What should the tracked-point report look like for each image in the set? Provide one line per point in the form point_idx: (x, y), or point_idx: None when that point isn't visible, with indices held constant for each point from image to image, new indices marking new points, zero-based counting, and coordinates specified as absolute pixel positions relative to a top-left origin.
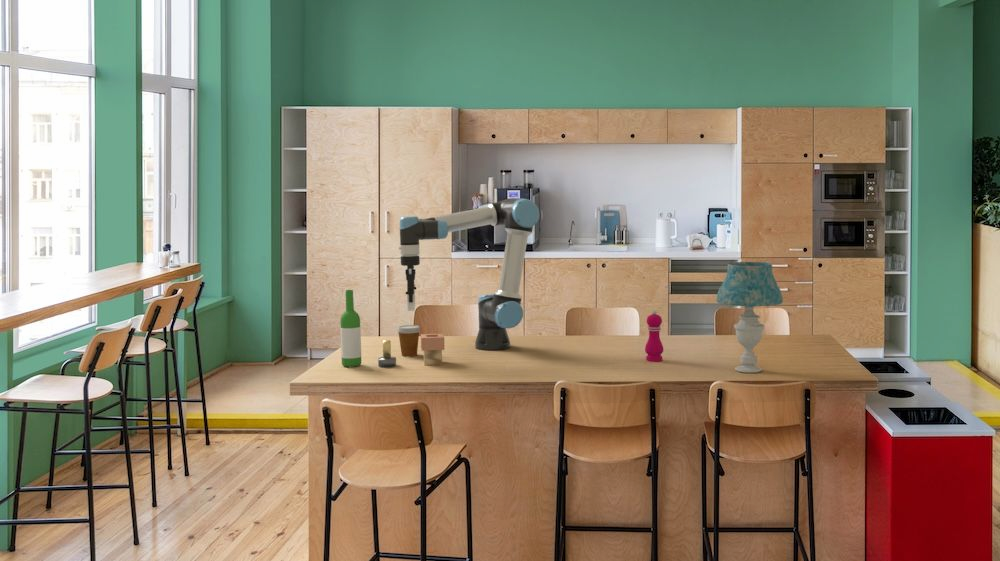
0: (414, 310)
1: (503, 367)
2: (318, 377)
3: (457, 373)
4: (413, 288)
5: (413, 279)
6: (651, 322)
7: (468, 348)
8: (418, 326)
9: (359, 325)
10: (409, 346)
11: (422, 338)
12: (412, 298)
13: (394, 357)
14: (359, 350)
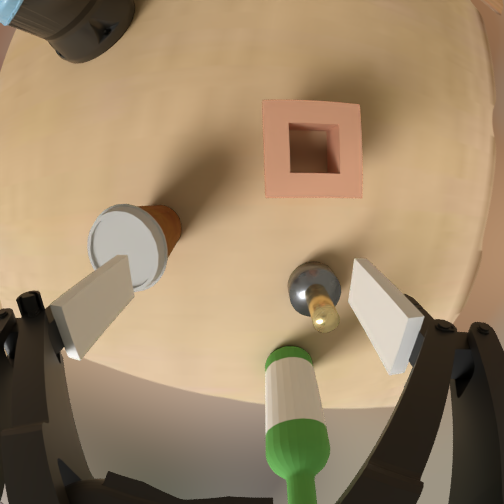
0: (366, 259)
1: (372, 5)
2: (384, 391)
3: (434, 113)
4: (500, 346)
5: (423, 467)
6: None
7: (91, 75)
8: (115, 213)
9: (310, 422)
10: (175, 232)
11: (361, 193)
12: (423, 310)
13: (309, 274)
14: (306, 370)
